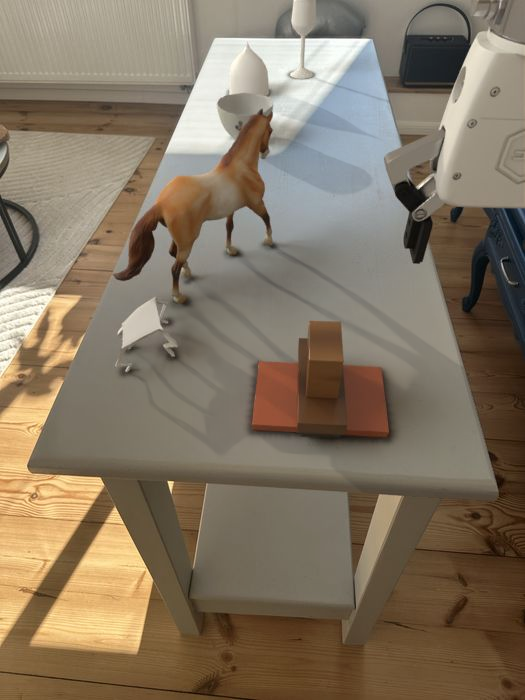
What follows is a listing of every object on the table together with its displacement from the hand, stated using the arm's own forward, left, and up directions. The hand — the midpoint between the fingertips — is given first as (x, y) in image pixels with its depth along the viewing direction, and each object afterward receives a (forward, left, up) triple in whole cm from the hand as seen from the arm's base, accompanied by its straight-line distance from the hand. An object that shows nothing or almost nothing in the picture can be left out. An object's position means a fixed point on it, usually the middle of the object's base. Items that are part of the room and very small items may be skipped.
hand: (472, 255), depth 41 cm
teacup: (-12, -82, -24) cm, 86 cm away
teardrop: (-23, -107, -24) cm, 112 cm away
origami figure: (+25, -26, -24) cm, 44 cm away
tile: (+9, -7, -24) cm, 27 cm away
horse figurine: (+13, -40, -24) cm, 49 cm away
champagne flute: (-42, -113, -24) cm, 123 cm away
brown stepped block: (+9, -7, -23) cm, 26 cm away
